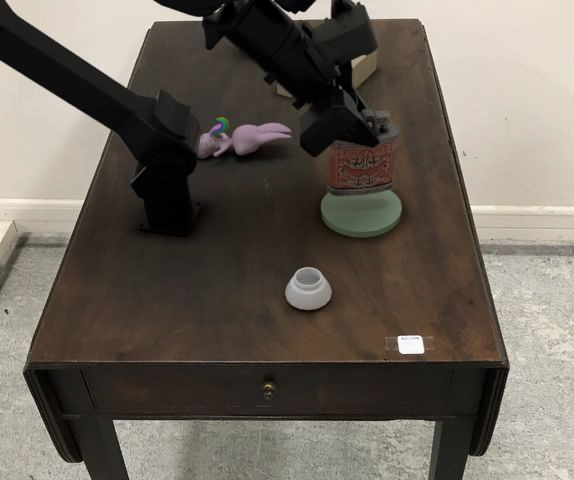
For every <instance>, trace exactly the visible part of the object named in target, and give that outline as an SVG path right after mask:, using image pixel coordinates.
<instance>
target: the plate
mask: <svg viewBox="0 0 574 480" xmlns="http://www.w3.org/2000/svg"><path fill="white" fill-rule="evenodd" d="M402 205H403V204H402V202H401V199H400V197H398V195H397V194H396V193H395V192H394V191H392V189H390V190H388V191H384V192H380V193H375V194H369V195H362V196H333V195H331V194H329V193H328V192H327V193H326V194H325V195H324V196H323V198H322V199H321V202H320V216H321V219H322V221H323V222H324V224H325V225H326V226H327V227H328V228H329V229H331V230H332V231H333V232H335V233H338V234H340V235H343V236H347V237H351V238H371V237H372V238H373V237H378V236H381V235H384V234H386V233H388V232H390V231H391V230H393V229H394V228H395V227H396V226H397V225H398V224H399V222H400V220H401V218H402V209H403V206H402Z"/></svg>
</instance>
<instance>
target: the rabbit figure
mask: <svg viewBox="0 0 574 480" xmlns="http://www.w3.org/2000/svg"><path fill="white" fill-rule="evenodd" d="M215 121H217V122H219V123H217V124H216V125H215V126H213V127H212V128H211V129H210V131H209V132H207V133H206V132H205V133H203V134H201V137H200V144H199V150H198V157H197V159H202V160H203V159H206V158H209V157H210V156H212V155H213V157H215V158H216V157H218V156H220V155H221V154H223V153H224V152H226V151H227V150H229V149H230V148H234V151H235V154H236V155H238V156H245V155H247V154H250V153H253V152H255V151H257V150H258V149H259V148H260V146H261V145H264V144H266V143H269V142H271V141H274V140H278V139H291V138H292V136H291V135H289V134H286V133H292V130H291V129H290V128H289V127H288V126H286V125H284V124H282V123H279V122H269V123H264V124H261V125H258V126H257V125H254V124H243V125H240V126H238V127H237V128H235V130H233V132H232V135H231V138H229V136H228V135H227V134H226V133H225V132H226V131H227V130H228V129H229V127H230V126H229V125H230V124H229V120H228V119H227V118H225V117H222V116H221V117H217V118H215ZM215 134H217V135H219V136H221V137H222V138H219V137H217V136H215Z"/></svg>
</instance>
